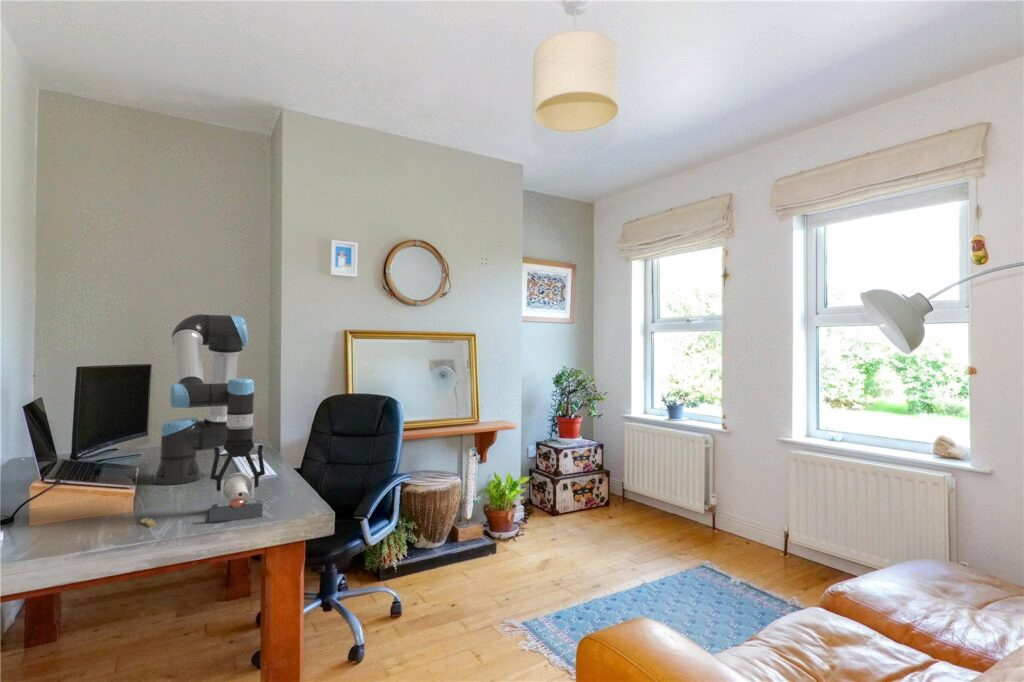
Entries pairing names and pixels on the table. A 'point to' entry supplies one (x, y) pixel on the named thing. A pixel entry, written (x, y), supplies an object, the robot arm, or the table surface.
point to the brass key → (148, 522)
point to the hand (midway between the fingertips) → (237, 499)
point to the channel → (236, 510)
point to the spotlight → (238, 486)
